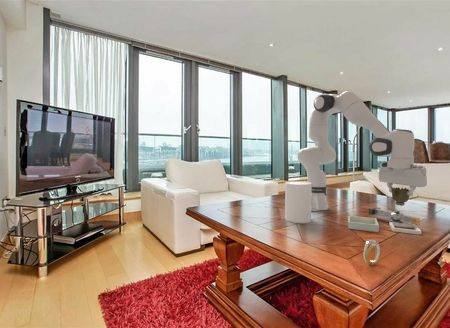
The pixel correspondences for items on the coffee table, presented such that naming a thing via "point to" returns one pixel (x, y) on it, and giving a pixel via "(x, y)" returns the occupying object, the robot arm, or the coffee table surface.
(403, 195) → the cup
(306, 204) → the canister
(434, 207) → the coffee table surface
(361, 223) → the tray
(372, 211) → the crank
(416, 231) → the tray
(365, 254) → the ring
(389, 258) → the coffee table surface
